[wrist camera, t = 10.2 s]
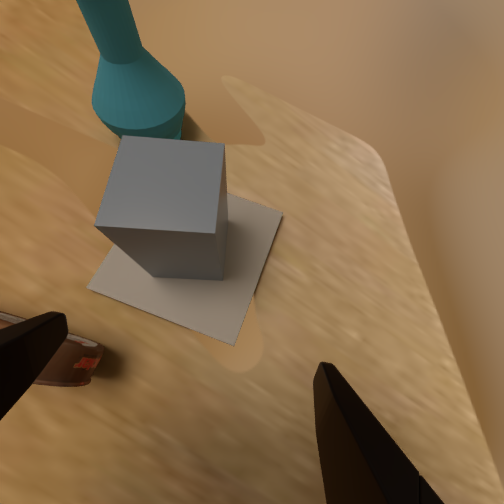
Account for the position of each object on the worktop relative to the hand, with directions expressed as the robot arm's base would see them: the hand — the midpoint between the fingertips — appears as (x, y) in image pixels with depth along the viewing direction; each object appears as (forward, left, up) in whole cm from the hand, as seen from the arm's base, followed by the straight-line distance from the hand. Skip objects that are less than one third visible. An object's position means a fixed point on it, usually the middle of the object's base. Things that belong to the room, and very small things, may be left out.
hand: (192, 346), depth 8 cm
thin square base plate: (+8, +6, -14) cm, 17 cm away
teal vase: (+20, +17, -14) cm, 29 cm away
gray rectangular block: (+8, +6, -13) cm, 16 cm away
